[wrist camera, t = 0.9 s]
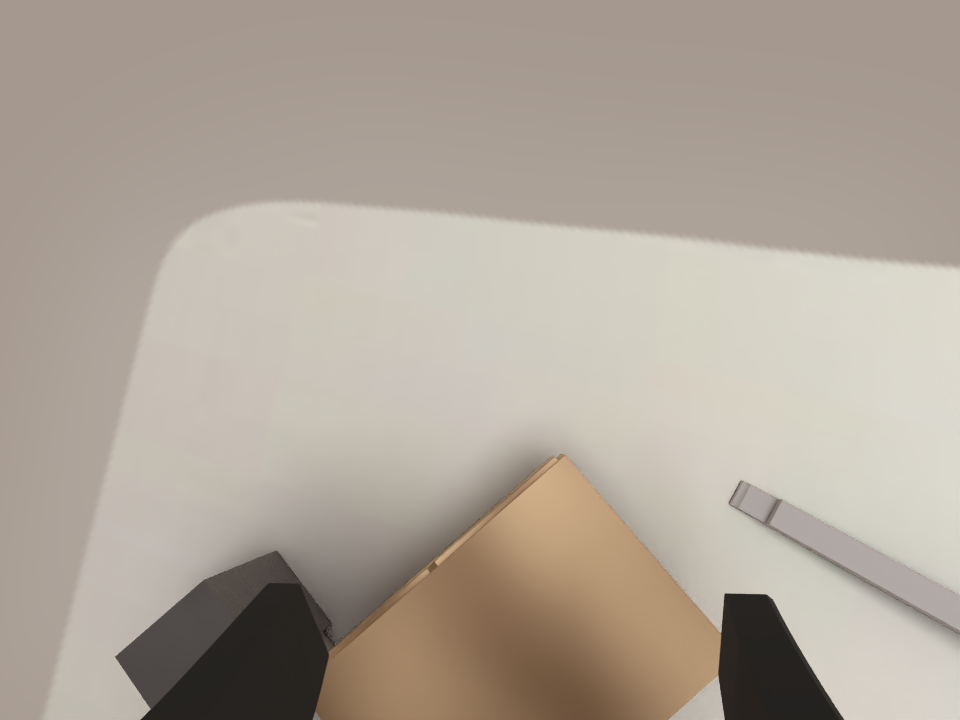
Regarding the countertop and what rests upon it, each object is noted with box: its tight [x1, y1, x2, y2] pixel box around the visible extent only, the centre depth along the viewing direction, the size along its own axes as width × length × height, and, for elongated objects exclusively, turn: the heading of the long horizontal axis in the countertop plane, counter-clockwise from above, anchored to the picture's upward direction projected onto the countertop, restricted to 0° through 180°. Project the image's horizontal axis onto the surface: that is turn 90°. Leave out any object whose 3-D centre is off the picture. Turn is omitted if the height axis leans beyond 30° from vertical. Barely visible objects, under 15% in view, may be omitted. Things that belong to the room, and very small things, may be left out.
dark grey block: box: [115, 551, 334, 720], centre depth 21 cm, size 8×4×6 cm, turn 41°
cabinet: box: [315, 454, 721, 720], centre depth 20 cm, size 10×7×6 cm
